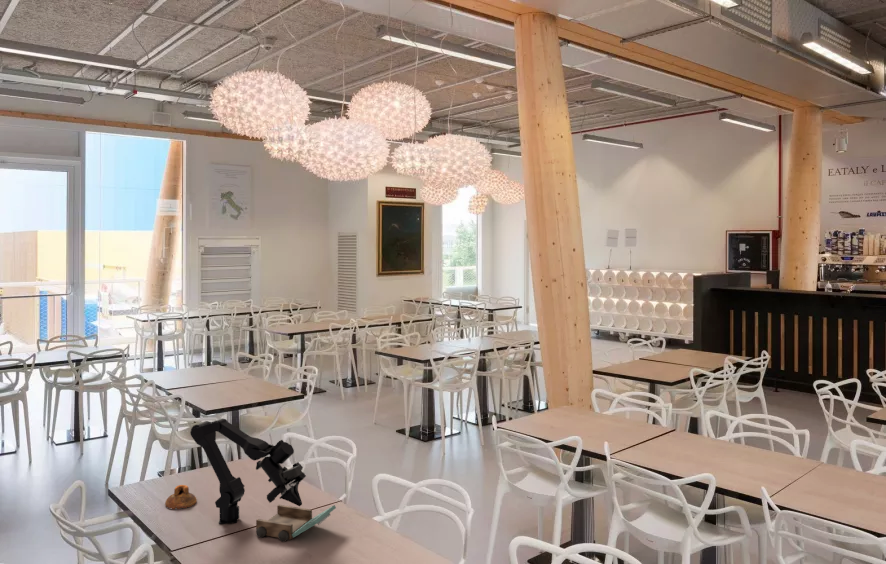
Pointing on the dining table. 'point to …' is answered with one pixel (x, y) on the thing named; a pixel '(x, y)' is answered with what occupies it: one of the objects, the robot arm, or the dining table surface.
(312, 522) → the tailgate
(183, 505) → the bell
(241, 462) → the dining table surface
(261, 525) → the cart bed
